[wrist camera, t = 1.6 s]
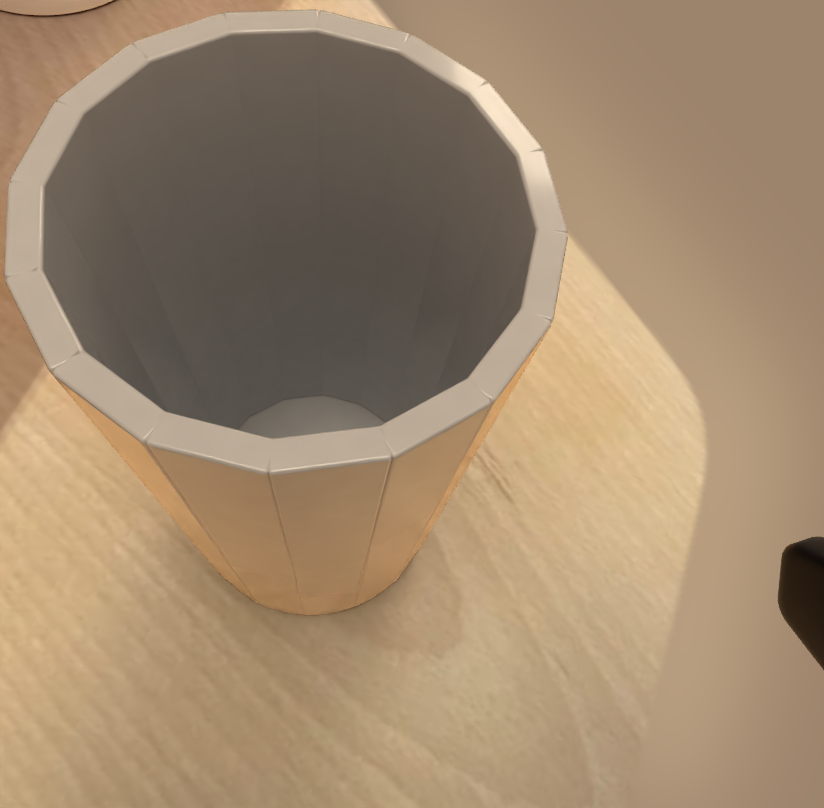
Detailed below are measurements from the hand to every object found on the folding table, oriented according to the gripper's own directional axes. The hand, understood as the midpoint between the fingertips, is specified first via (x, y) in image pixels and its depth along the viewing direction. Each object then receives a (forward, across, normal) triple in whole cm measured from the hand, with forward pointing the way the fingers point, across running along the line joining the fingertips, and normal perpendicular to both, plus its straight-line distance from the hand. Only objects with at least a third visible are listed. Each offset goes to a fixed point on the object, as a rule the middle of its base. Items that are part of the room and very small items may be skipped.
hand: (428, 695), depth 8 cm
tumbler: (+12, 0, +4) cm, 13 cm away
